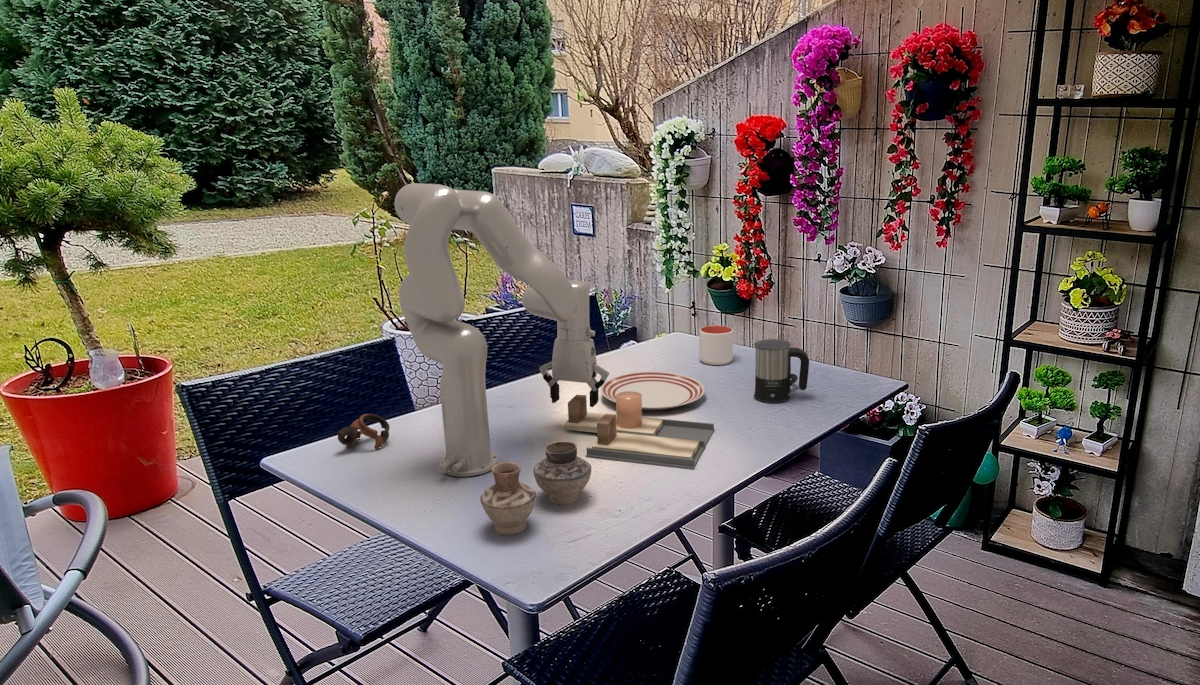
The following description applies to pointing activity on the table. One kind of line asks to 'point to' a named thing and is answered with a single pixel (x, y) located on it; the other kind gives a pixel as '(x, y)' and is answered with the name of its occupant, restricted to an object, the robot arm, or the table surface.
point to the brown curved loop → (364, 431)
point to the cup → (716, 345)
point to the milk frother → (777, 370)
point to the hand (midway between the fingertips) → (574, 403)
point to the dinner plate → (655, 389)
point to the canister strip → (588, 421)
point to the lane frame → (668, 430)
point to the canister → (629, 409)
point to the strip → (641, 441)
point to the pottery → (516, 500)
